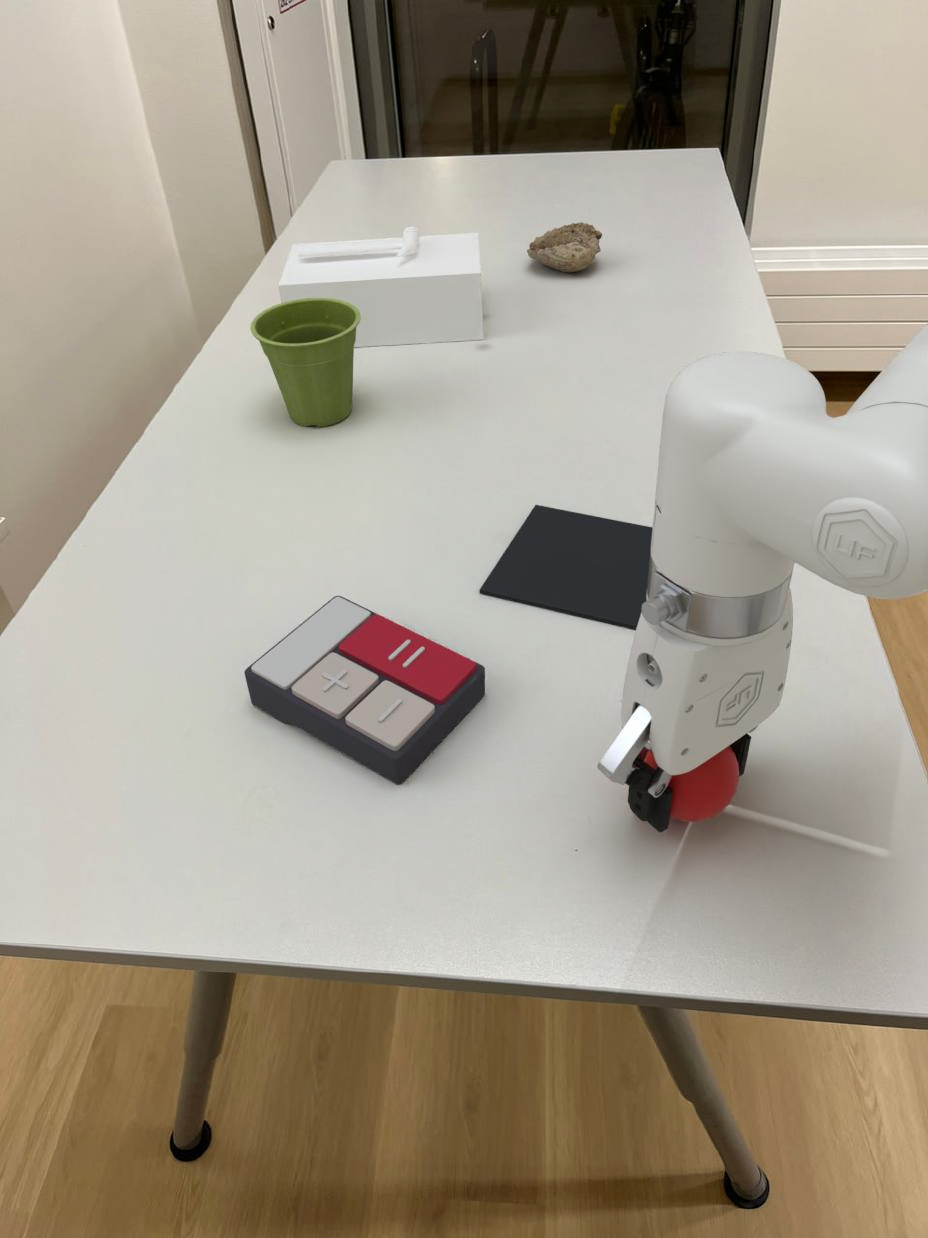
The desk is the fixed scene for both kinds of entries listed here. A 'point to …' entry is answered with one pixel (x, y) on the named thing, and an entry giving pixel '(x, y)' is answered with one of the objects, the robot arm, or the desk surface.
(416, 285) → the tissue box
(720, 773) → the red ball
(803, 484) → the robot arm
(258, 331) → the plant pot
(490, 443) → the desk surface
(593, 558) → the side mat
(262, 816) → the desk surface
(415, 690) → the calculator
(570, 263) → the tan rough lump
